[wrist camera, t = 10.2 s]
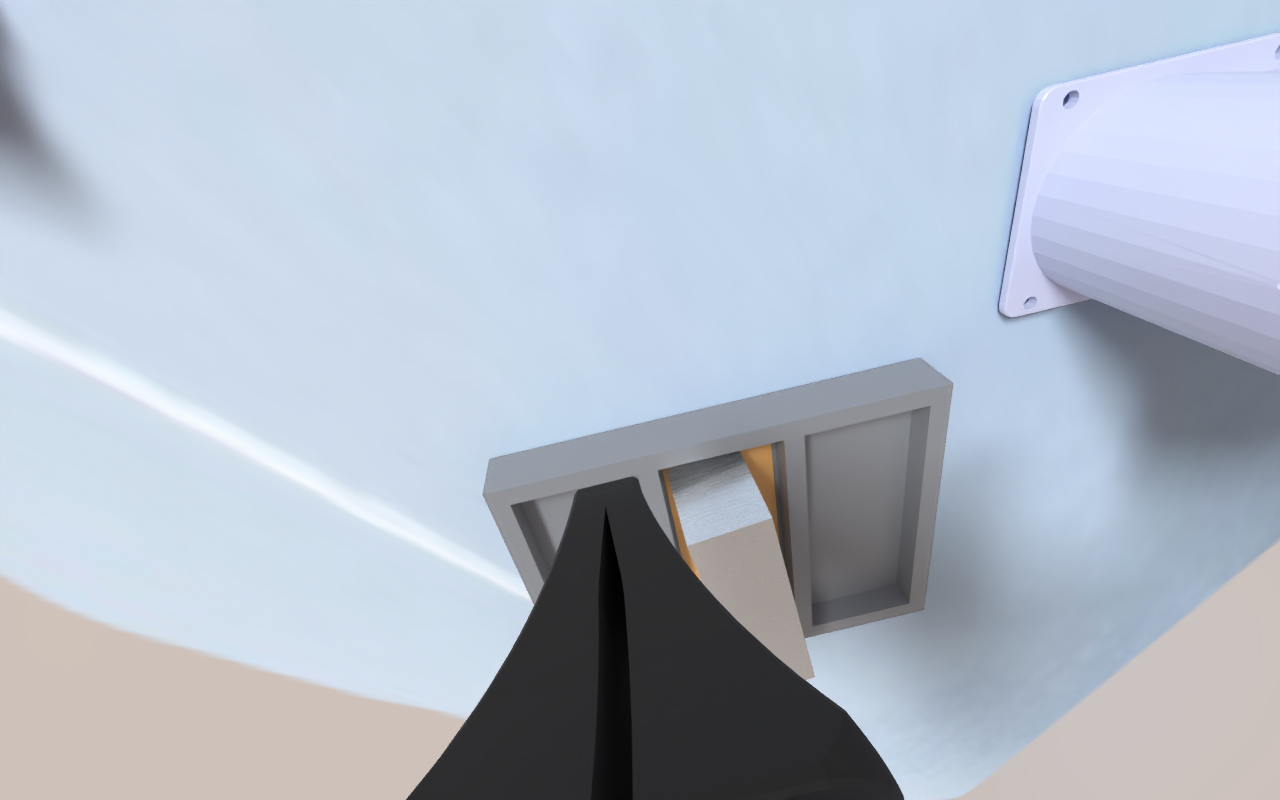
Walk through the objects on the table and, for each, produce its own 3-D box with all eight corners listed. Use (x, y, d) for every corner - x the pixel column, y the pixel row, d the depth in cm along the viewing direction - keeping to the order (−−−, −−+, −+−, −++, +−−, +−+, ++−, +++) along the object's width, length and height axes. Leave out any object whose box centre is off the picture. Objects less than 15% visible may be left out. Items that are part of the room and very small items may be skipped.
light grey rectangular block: (735, 440, 22) (772, 517, 18) (778, 591, 27) (814, 677, 23) (665, 464, 22) (686, 546, 18) (721, 610, 27) (748, 697, 23)
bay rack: (919, 357, 22) (956, 385, 20) (900, 576, 29) (925, 613, 27) (489, 459, 22) (481, 498, 20) (574, 653, 29) (575, 697, 27)
